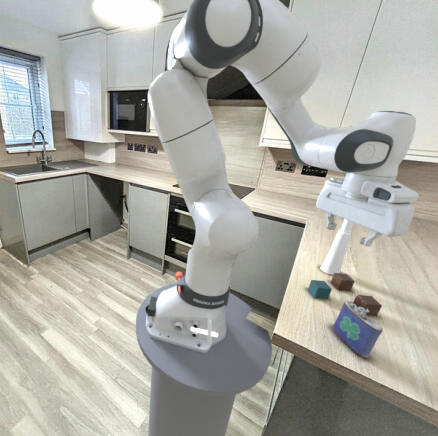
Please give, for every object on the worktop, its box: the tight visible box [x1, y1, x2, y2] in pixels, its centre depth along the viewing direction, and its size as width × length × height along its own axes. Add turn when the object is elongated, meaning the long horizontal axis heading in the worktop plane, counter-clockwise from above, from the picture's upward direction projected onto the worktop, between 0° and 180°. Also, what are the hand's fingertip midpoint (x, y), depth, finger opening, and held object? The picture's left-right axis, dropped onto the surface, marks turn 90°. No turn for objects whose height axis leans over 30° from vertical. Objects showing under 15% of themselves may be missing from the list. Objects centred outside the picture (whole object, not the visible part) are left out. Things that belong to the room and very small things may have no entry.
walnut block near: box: [352, 294, 383, 317], centre depth 68 cm, size 4×4×4 cm
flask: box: [331, 301, 384, 359], centre depth 57 cm, size 9×3×11 cm, turn 4°
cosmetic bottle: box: [320, 219, 355, 276], centre depth 83 cm, size 6×6×22 cm
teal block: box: [307, 279, 333, 300], centre depth 74 cm, size 4×4×4 cm
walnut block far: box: [330, 272, 356, 292], centre depth 78 cm, size 4×4×4 cm
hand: (346, 236), depth 62 cm, fingers open, 8 cm apart
